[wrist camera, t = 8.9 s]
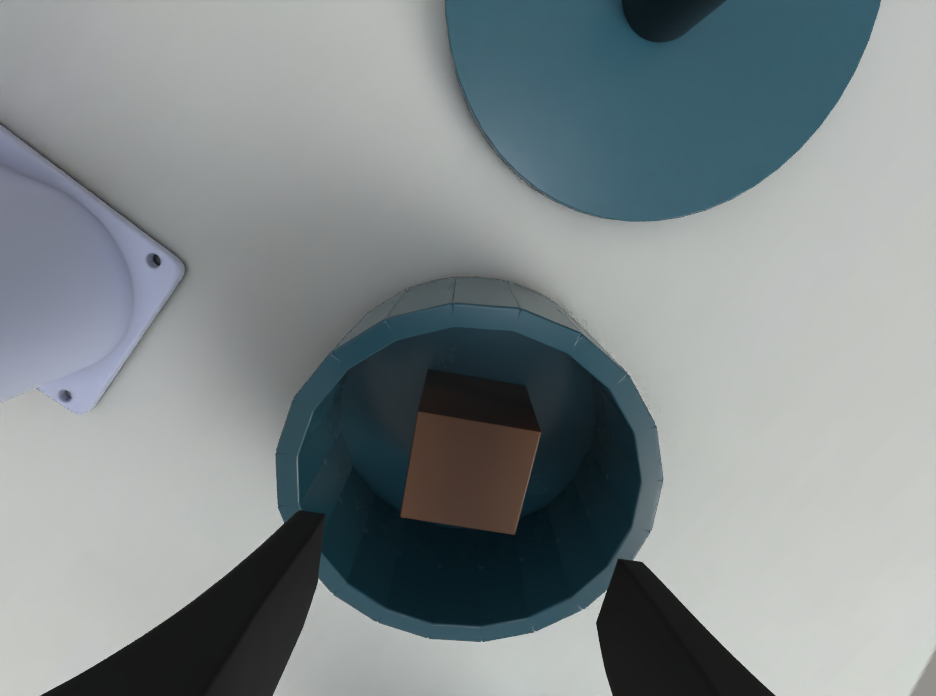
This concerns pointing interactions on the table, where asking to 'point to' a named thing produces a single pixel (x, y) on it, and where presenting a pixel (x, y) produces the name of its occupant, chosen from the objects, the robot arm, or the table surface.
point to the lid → (652, 93)
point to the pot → (550, 485)
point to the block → (471, 453)
